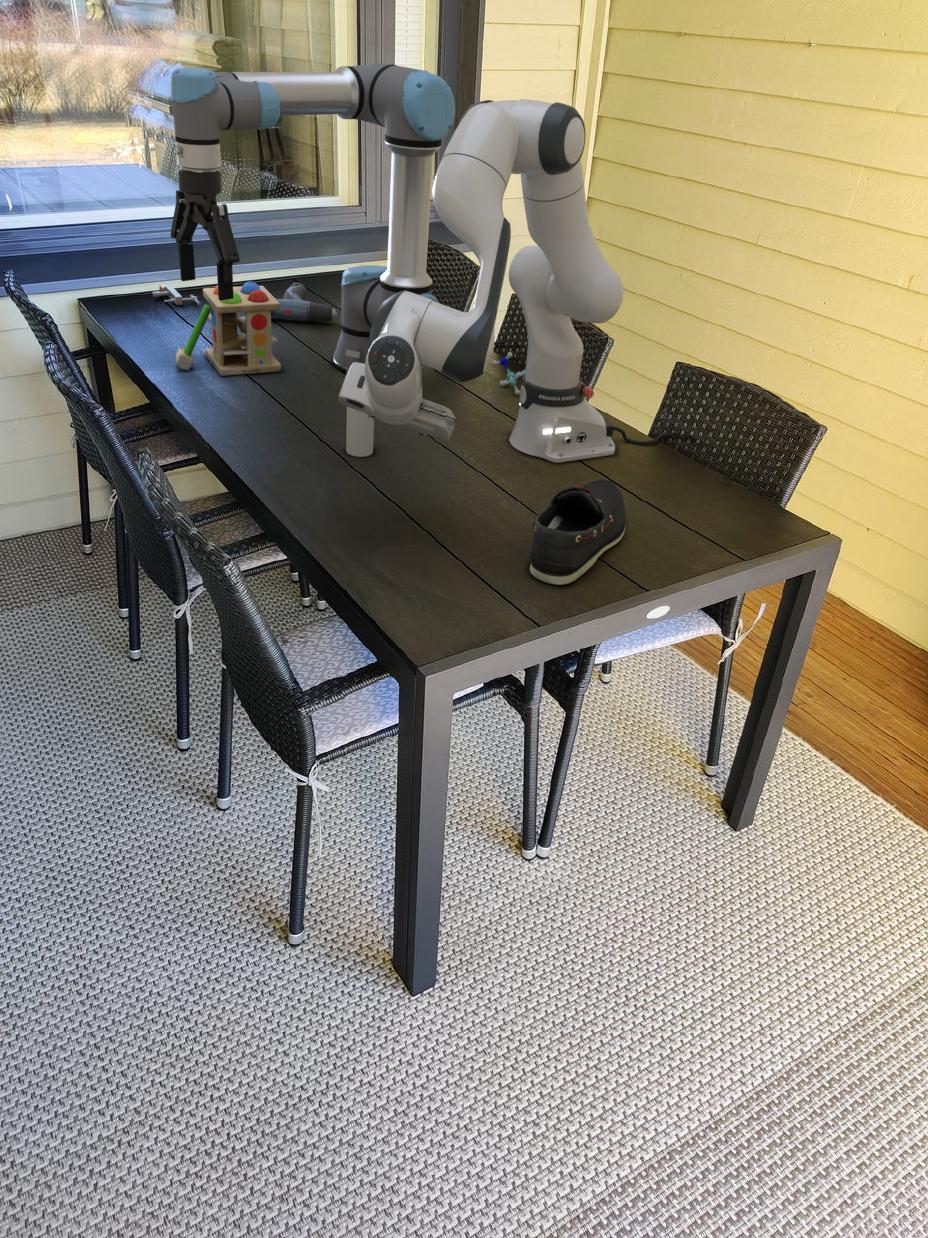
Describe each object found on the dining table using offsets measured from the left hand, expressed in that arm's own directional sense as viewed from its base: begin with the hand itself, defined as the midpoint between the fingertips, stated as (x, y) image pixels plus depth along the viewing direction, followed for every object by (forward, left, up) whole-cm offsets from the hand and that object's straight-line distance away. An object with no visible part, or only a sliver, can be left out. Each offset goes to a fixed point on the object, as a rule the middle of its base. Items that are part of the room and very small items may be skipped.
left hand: (206, 289), depth 186 cm
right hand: (-11, +45, -13) cm, 48 cm away
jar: (-18, +25, -28) cm, 42 cm away
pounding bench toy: (-20, -29, -28) cm, 45 cm away
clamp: (-34, -77, -28) cm, 89 cm away
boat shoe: (-27, +76, -28) cm, 85 cm away
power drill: (-60, -53, -28) cm, 84 cm away
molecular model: (-70, +17, -28) cm, 77 cm away
